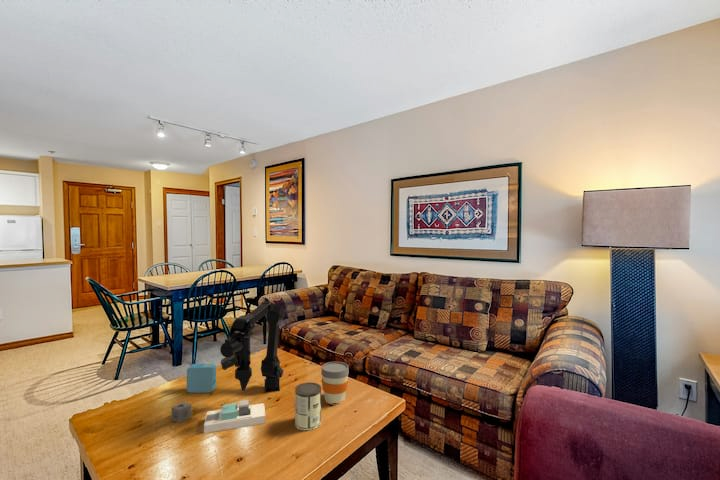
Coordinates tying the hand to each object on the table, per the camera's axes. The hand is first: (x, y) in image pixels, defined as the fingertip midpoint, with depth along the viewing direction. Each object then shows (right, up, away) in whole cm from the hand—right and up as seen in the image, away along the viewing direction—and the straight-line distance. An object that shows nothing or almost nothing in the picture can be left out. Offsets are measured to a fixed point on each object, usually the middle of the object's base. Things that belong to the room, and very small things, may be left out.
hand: (243, 385), depth 137 cm
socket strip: (-1, -12, -6) cm, 13 cm away
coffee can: (+28, -12, -6) cm, 31 cm away
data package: (-26, -11, +19) cm, 34 cm away
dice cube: (-23, -12, -4) cm, 26 cm away
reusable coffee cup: (+37, -12, +13) cm, 41 cm away
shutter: (-3, -9, -7) cm, 11 cm away
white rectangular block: (+2, -11, -5) cm, 12 cm away
